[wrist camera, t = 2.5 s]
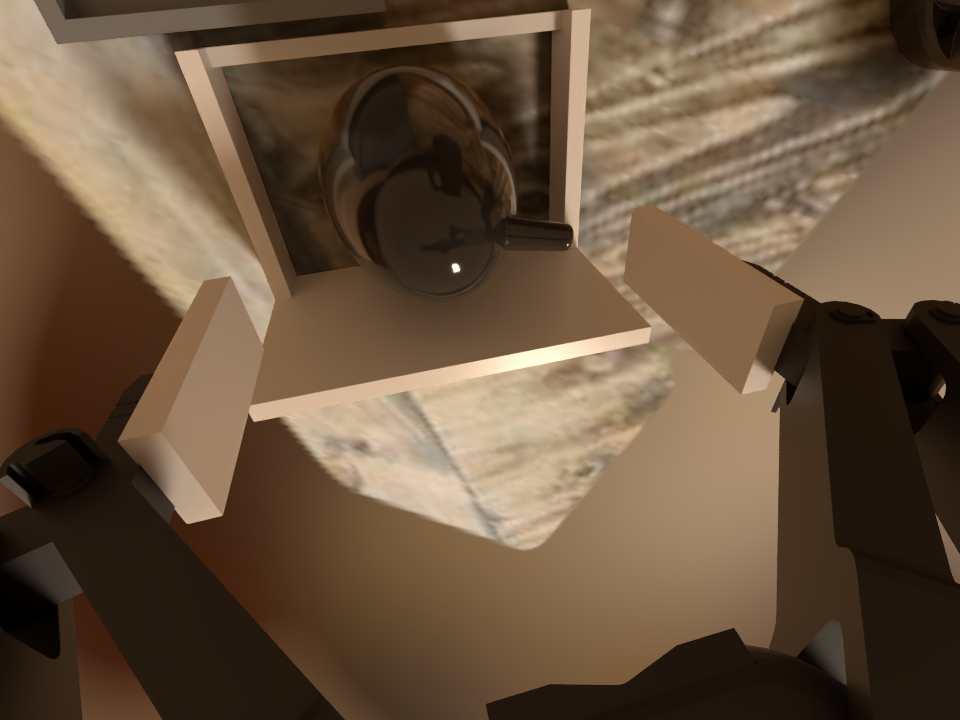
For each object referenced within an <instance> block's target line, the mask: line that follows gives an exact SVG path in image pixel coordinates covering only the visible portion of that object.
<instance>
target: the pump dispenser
mask: <svg viewBox="0 0 960 720" xmlns="http://www.w3.org/2000/svg"><path fill="white" fill-rule="evenodd" d="M318 178H319V185H320V190H321V194H322V198H323V202H324V205H325V209H326V212H327V214H328V217H329V219H330V222H331V224H332V226H333V228H334V230H335V232H336V234H337V236H338V237H339V239H340V241H341V242H342V244H343V245H344V247H345V248H346V249H347V251H348V252H349V253H350V254H351V256H352V257H353V258H354V259H355V260H356V261H357V262H358V263H359V265H360V266H361V267H362V268H363V269H365V270H366V271H367V272H368V273H369V274H370V275H371V276H372V277H374V278H375V279H376V280H377V281H379V282H380V283H381V284H383V285H384V286H386V287H387V288H389V289H391V290H393V291H394V292H396V293H398V294H400V295H403V296H405V297H408V298H411V299H415V300H419V301H425V302H446V301H452V300H456V299H459V298H462V297H464V296H467V295H469V294H471V293H473V292H474V291H476V290H477V289H479V288H480V287H482V286H483V285H484V284H485V283H486V282H487V281H488V280H489V279H490V278H491V277H492V276H493V275H494V274H495V273H496V271H497V270H498V268H499V267H500V265H501V264H502V262H503V260H504V258H505V256H506V254H507V251H567V250H569V249H570V247H571V246H572V243H573V237H574V231H573V228H572V226H571V225H570V224H566V223H560V222H554V221H548V220H541V219H535V218H529V217H523V216H517V215H518V203H519V192H518V179H517V173H516V168H515V163H514V159H513V156H512V153H511V150H510V147H509V144H508V142H507V139H506V137H505V135H504V133H503V131H502V129H501V127H500V125H499V123H498V121H497V119H496V118H495V116H494V114H493V113H492V111H491V110H490V109H489V107H488V106H487V105H486V103H485V102H484V101H483V100H482V99H481V98H480V97H479V96H478V95H477V94H476V93H475V92H474V91H473V90H472V89H471V88H470V87H469V86H467V85H466V84H465V83H463V82H462V81H460V80H459V79H457V78H455V77H454V76H452V75H450V74H448V73H446V72H443V71H441V70H438V69H435V68H432V67H427V66H422V65H411V64H405V65H395V66H389V67H385V68H382V69H379V70H376V71H374V72H372V73H370V74H368V75H366V76H364V77H362V78H361V79H359V80H358V81H356V82H355V83H354V84H353V85H351V86H350V87H349V88H348V89H347V90H346V91H345V92H344V93H343V94H342V95H341V97H340V98H339V99H338V101H337V102H336V103H335V105H334V106H333V108H332V110H331V111H330V113H329V115H328V117H327V120H326V122H325V125H324V127H323V131H322V134H321V138H320V143H319V149H318Z"/></svg>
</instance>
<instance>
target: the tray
mask: <svg viewBox="0 0 960 720" xmlns="http://www.w3.org/2000/svg"><path fill="white" fill-rule="evenodd" d="M34 1H35V3H36V5H37V7H38V9H39V11H40V13H41V14H42V16H43V18H44V20H45V22H46V24H47V26H48V27H49V29H50V31H51V33H52V35H53V37H54V39H55V41H56V42H57V44H63V43H73V42H83V41H93V40H103V39H113V38H123V37H133V36H144V35H154V34H164V33H174V32H184V31H194V30H204V29H214V28H224V27H234V26H244V25H254V24H264V23H274V22H284V21H294V20H304V19H314V18H324V17H334V16H344V15H354V14H365V13H375V12H385V11H386V7H385V1H384V0H34Z"/></svg>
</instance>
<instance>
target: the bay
mask: <svg viewBox="0 0 960 720" xmlns="http://www.w3.org/2000/svg"><path fill="white" fill-rule="evenodd" d="M590 17H591V9H566V10H556V11H546V12H537V13H527V14H518V15H508V16H498V17H489V18H479V19H469V20H460V21H450V22H441V23H431V24H421V25H412V26H402V27H393V28H383V29H373V30H364V31H354V32H344V33H335V34H325V35H316V36H306V37H296V38H287V39H277V40H267V41H258V42H248V43H239V44H229V45H219V46H210V47H200V48H192V49H187V50H182V51H177V52H175V55H176V57H177V60H178V62H179V65H180V67H181V70H182V72H183V75H184V77H185V79H186V82H187V84H188V87H189V89H190V92H191V94H192V97H193V99H194V101H195V104H196V106H197V109H198V111H199V114H200V116H201V119H202V121H203V124H204V126H205V128H206V131H207V133H208V136H209V138H210V141H211V143H212V146H213V148H214V150H215V153H216V155H217V158H218V160H219V163H220V165H221V168H222V170H223V172H224V175H225V177H226V180H227V182H228V185H229V187H230V190H231V192H232V195H233V197H234V199H235V202H236V204H237V207H238V209H239V212H240V214H241V217H242V219H243V221H244V224H245V226H246V229H247V231H248V234H249V236H250V239H251V241H252V244H253V246H254V248H255V251H256V253H257V256H258V258H259V261H260V263H261V266H262V268H263V270H264V273H265V275H266V278H267V280H268V283H269V285H270V288H271V290H272V293H273V295H274V297H275V304H274V308H273V311H272V315H271V318H270V322H269V325H268V329H267V332H266V336H265V340H264V343H263V347H264V352H263V356H262V360H261V364H260V368H259V372H258V376H257V380H256V384H255V388H254V392H253V396H252V400H251V404H250V408H249V413H250V415H251V417H252V419H253V421H254V422H256V421H261V420H266V419H271V418H275V417H280V416H285V415H290V414H295V413H300V412H305V411H310V410H315V409H320V408H325V407H330V406H335V405H340V404H345V403H350V402H355V401H360V400H365V399H370V398H375V397H380V396H385V395H390V394H395V393H400V392H405V391H410V390H415V389H420V388H425V387H430V386H435V385H440V384H445V383H450V382H455V381H460V380H465V379H470V378H475V377H480V376H485V375H490V374H495V373H500V372H505V371H510V370H515V369H520V368H525V367H530V366H535V365H540V364H545V363H550V362H555V361H560V360H564V359H569V358H574V357H579V356H584V355H589V354H594V353H599V352H604V351H609V350H614V349H619V348H624V347H629V346H634V345H639V344H644V343H649V337H650V332H651V326H650V325H649V324H648V323H647V322H646V321H645V319H644V318H643V317H642V316H641V315H640V314H639V313H638V312H637V311H636V310H635V309H634V308H633V307H632V306H631V305H630V304H629V303H628V302H627V300H626V299H625V298H624V297H623V296H622V295H621V294H620V293H619V292H618V291H617V290H616V289H615V288H614V287H613V286H612V285H611V284H610V283H609V281H608V280H607V279H606V278H605V277H604V276H603V275H602V274H601V273H600V272H599V271H598V270H597V269H596V268H595V267H594V266H593V265H592V264H591V262H590V261H589V260H588V259H587V258H586V257H585V256H584V255H583V254H582V253H581V252H580V251H579V250H578V249H577V246H578V229H579V211H580V193H581V176H582V158H583V140H584V123H585V105H586V87H587V70H588V52H589V34H590ZM551 30H552V59H551V125H550V191H549V221H554V222H560V223H566V224H570V225H571V226H572V228H573V231H574V237H573V243H572V246H571V247H570V249H569V250H567V251H507V254H506V256H505V258H504V260H503V262H502V264H501V265H500V267H499V268H498V270H497V271H496V273H495V274H494V275H493V276H492V277H491V278H490V279H489V280H488V281H487V282H486V283H485V284H484V285H483V286H482V287H480V288H479V289H477V290H476V291H474V292H473V293H471V294H469V295H467V296H464V297H462V298H459V299H456V300H452V301H446V302H425V301H419V300H415V299H411V298H408V297H405V296H403V295H400V294H398V293H396V292H394V291H393V290H391V289H389V288H387V287H386V286H384V285H383V284H381V283H380V282H379V281H377V280H376V279H375V278H374V277H372V276H371V275H370V274H369V273H368V272H367V271H366V270H365V269H363V268H362V267H361V266H355V267H349V268H343V269H337V270H331V271H325V272H318V273H312V274H306V275H300V276H296V273H295V270H294V267H293V265H292V262H291V259H290V256H289V254H288V251H287V248H286V245H285V242H284V240H283V237H282V234H281V231H280V229H279V226H278V223H277V220H276V218H275V215H274V212H273V209H272V207H271V204H270V201H269V198H268V195H267V193H266V190H265V187H264V184H263V182H262V179H261V176H260V173H259V171H258V168H257V165H256V162H255V160H254V157H253V154H252V151H251V149H250V146H249V143H248V140H247V137H246V135H245V132H244V129H243V126H242V124H241V121H240V118H239V115H238V113H237V110H236V107H235V104H234V102H233V99H232V96H231V93H230V91H229V88H228V85H227V82H226V79H225V77H224V74H223V71H222V68H221V67H222V66H231V65H240V64H250V63H259V62H268V61H277V60H286V59H295V58H304V57H314V56H323V55H332V54H341V53H350V52H359V51H369V50H378V49H387V48H396V47H405V46H414V45H423V44H433V43H442V42H451V41H460V40H469V39H478V38H487V37H497V36H506V35H515V34H524V33H533V32H542V31H551Z"/></svg>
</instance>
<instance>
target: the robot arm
mask: <svg viewBox="0 0 960 720" xmlns="http://www.w3.org/2000/svg"><path fill="white" fill-rule="evenodd" d="M891 20H892V27H893V32H894V36H895V39H896V42H897V44H898V46H899V48H900V50H901V51H902V53H903V54H904V55H905V56H906V57H907V58H908V59H909V60H910V61H911V62H913V63H914V64H916V65H918V66H920V67H923V68H927V69H934V70H945V71H956V72H960V0H891ZM624 282H625V283H626V284H627V285H628V286H629V287H630V288H631V289H632V290H633V291H634V292H635V293H637V294H638V295H639V296H640V297H641V298H642V299H643V300H644V301H645V302H646V303H647V304H648V305H649V306H650V307H651V308H652V309H653V310H654V311H655V312H656V313H657V314H658V315H659V316H660V317H661V318H662V319H663V320H664V321H665V322H666V323H668V324H669V325H670V326H671V327H672V328H673V329H674V330H675V331H676V332H677V333H678V334H679V335H680V336H681V337H682V338H683V339H684V340H685V341H686V342H687V343H688V344H689V345H690V346H691V347H692V348H693V349H694V350H695V351H696V352H698V353H699V354H700V355H701V356H702V357H703V358H704V359H705V360H706V361H707V362H708V363H709V364H710V365H711V366H712V367H713V368H714V369H715V370H716V371H717V372H718V373H719V374H720V375H721V376H722V377H724V379H725V380H726V381H727V382H729V383H730V384H731V385H732V386H733V387H734V388H735V389H736V390H737V391H738V392H739V393H740V394H741V395H742V394H746V393H751V392H755V391H759V390H764V389H767V387H768V385H769V382H770V380H771V378H772V375H773V373H774V371H776V372H777V373H779V374H780V375H781V376H782V377H783V378H785V381H784V383H783V385H782V388H781V390H780V392H779V395H778V397H777V399H776V401H775V404H774V406H773V408H772V411H771V412H776V411H777V409H778V408H779V407H780V438H779V496H778V497H779V498H778V500H779V501H778V553H777V612H776V613H777V614H776V625H775V630H774V634H773V637H772V640H771V643H770V647H769V649H767V648H762V647H756V646H749V645H744V643H743V642H742V640H741V638H740V637H739V635H738V633H737V632H736V631H735V629H734V628H732V629H729V630H726V631H722V632H720V633H716V634H713V635H709V636H706V637H703V638H700V639H696V640H693V641H690V642H686V643H683V644H680V645H677V646H675V647H674V648H673V649H671V650H670V651H669V652H667V653H666V654H665V655H663V656H662V657H661V658H659V659H658V660H657V661H655V662H654V663H653V664H651V665H650V666H648V667H647V668H646V669H644V670H643V671H642V672H640V673H639V674H638V675H636V676H635V677H634V678H632V679H631V680H630V681H628V682H627V683H625V684H621V685H563V684H562V685H561V684H550V685H547V686H543V687H540V688H537V689H534V690H530V691H527V692H524V693H520V694H517V695H514V696H510V697H507V698H504V699H501V700H497V701H494V702H491V703H488V704H486V707H487V712H488V717H489V720H960V584H958V583H956V582H955V581H954V578H953V576H952V574H951V570H950V566H949V563H948V559H947V555H946V552H945V548H944V544H943V541H942V537H941V533H940V530H939V526H938V522H937V519H936V515H937V517H938V518H939V520H940V522H941V523H942V525H943V527H944V528H945V530H946V532H947V533H948V535H949V537H950V538H951V540H952V542H953V543H954V545H955V547H956V548H957V550H958V552H959V553H960V304H958V303H955V304H954V303H953V302H950V301H937V300H926V301H920V302H917V303H915V304H914V306H913V307H912V309H911V310H910V312H909V314H908V315H907V317H906V319H881V318H880V316H879V315H878V314H877V313H875V312H874V311H872V310H871V309H868V308H866V307H863V306H861V305H858V304H853V303H848V302H841V301H840V302H839V301H831V302H824V303H822V304H821V303H820V302H818V301H816V300H815V299H813V298H811V297H810V296H808V295H807V294H805V293H803V292H801V291H800V290H798V289H797V288H795V287H793V286H792V285H790V284H789V283H785V282H784V280H782V279H780V278H779V277H777V276H773V274H772V273H771V272H769V271H767V270H766V269H764V268H762V267H761V266H759V265H756V264H753V263H750V262H747V261H744V260H740V259H739V258H737V257H736V256H734V255H732V254H731V253H729V252H728V251H726V250H724V249H723V248H721V247H720V246H718V245H716V244H715V243H713V242H712V241H710V240H708V239H707V238H705V237H704V236H702V235H700V234H699V233H697V232H696V231H694V230H692V229H691V228H689V227H688V226H686V225H684V224H683V223H681V222H680V221H678V220H676V219H675V218H673V217H672V216H670V215H668V214H667V213H665V212H664V211H662V210H660V209H659V208H657V207H656V206H654V205H652V206H646V207H640V208H634V209H633V212H632V219H631V227H630V235H629V242H628V250H627V258H626V265H625V273H624ZM263 352H264V347H263V345H262V343H261V341H260V339H259V337H258V334H257V332H256V330H255V328H254V326H253V324H252V322H251V319H250V317H249V315H248V313H247V311H246V309H245V306H244V304H243V302H242V300H241V298H240V296H239V293H238V291H237V289H236V287H235V285H234V283H233V280H232V278H231V276H230V277H224V278H218V279H212V280H206V281H204V282H203V284H202V286H201V287H200V289H199V291H198V293H197V295H196V297H195V299H194V300H193V302H192V304H191V306H190V308H189V310H188V312H187V313H186V315H185V317H184V319H183V321H182V323H181V325H180V326H179V329H178V330H177V332H176V334H175V336H174V337H173V339H172V341H171V343H170V345H169V347H168V349H167V350H166V352H165V354H164V356H163V358H162V360H161V362H160V364H159V365H158V367H157V369H156V371H155V373H150V374H145V375H141V376H140V377H139V378H138V379H136V380H135V381H134V382H133V383H132V384H131V385H130V386H129V387H128V388H126V389H125V390H124V392H123V394H122V395H121V397H120V399H119V400H118V402H117V404H116V408H114V409H113V410H112V412H111V414H110V416H109V417H108V418H109V420H108V421H106V422H105V424H104V426H103V427H102V429H101V431H100V432H99V434H98V436H97V438H96V439H95V441H93V440H92V439H91V437H90V436H89V435H88V434H87V433H86V432H85V431H84V430H81V429H79V428H62V429H58V430H54V431H51V432H48V433H46V434H44V435H41V436H39V437H37V438H34V439H32V440H31V441H29V442H28V443H26V444H24V445H23V446H21V447H20V448H18V449H17V450H16V451H15V452H14V453H12V455H10V456H9V457H8V458H7V459H6V460H5V461H4V463H3V464H2V466H1V468H0V482H2V483H3V484H4V485H5V486H6V487H7V488H9V489H10V490H11V491H12V492H13V493H15V494H16V495H17V496H18V497H19V498H20V499H22V500H23V501H24V502H25V503H26V504H27V506H25V507H23V508H20V509H18V510H16V511H13V512H11V513H8V514H6V515H4V516H1V517H0V720H82V709H81V698H80V686H79V673H78V662H77V650H76V639H75V627H74V616H73V604H72V597H73V596H76V595H78V594H80V593H82V592H84V593H85V595H86V597H87V598H88V600H89V602H90V603H91V605H92V606H93V608H94V610H95V611H96V613H97V615H98V616H99V618H100V619H101V621H102V623H103V624H104V626H105V627H106V629H107V631H108V632H109V634H110V636H111V637H112V639H113V640H114V642H115V643H116V645H117V647H118V648H119V650H120V651H121V653H122V655H123V656H124V658H125V660H126V661H127V663H128V664H129V666H130V668H131V669H132V671H133V673H134V674H135V676H136V677H137V679H138V681H139V682H140V684H141V685H142V687H143V689H144V690H145V692H146V693H147V695H148V697H149V699H150V700H151V702H152V703H153V705H154V706H155V708H156V710H157V711H158V713H159V715H160V716H161V718H162V719H163V720H344V718H343V717H342V716H341V715H340V714H339V713H338V712H337V711H336V709H334V707H333V706H332V705H331V704H330V703H329V702H328V701H327V700H326V699H325V698H324V696H322V694H321V693H320V692H319V691H318V690H317V689H316V688H315V687H314V685H313V684H312V683H311V682H310V681H309V680H308V679H307V678H306V677H305V675H304V674H303V673H302V672H301V671H300V670H299V669H298V668H297V667H296V665H295V664H294V663H293V662H292V661H291V660H290V659H289V658H288V657H287V655H286V654H285V653H284V652H283V651H282V650H281V649H280V648H279V647H278V645H277V644H276V643H275V642H274V641H273V640H272V639H271V638H270V637H269V635H267V633H266V632H265V631H264V630H263V629H262V628H261V627H260V625H259V624H258V623H257V622H256V621H255V620H254V619H253V618H252V617H251V615H250V614H248V612H247V611H246V610H245V609H244V608H243V607H242V606H241V604H240V603H239V602H238V601H237V600H236V599H235V598H234V597H233V595H232V594H231V593H230V592H229V591H228V590H227V589H226V588H225V587H224V585H223V584H222V583H221V582H220V581H219V580H218V579H217V578H216V577H215V575H214V574H213V573H212V572H211V571H210V570H209V569H208V568H207V567H206V566H205V564H204V563H203V562H202V561H201V560H200V559H199V558H198V557H197V556H196V554H195V553H194V552H193V551H192V550H191V549H190V548H189V547H188V545H187V544H186V543H185V542H184V541H183V540H182V539H181V538H180V537H179V535H178V534H177V533H176V532H175V531H174V530H173V529H172V528H171V527H170V526H169V523H170V520H171V517H172V514H173V511H174V509H175V510H176V511H177V512H178V514H179V515H180V516H181V517H182V518H183V520H184V521H185V522H186V523H187V524H189V523H193V522H197V521H202V520H206V519H211V518H215V517H219V516H223V513H224V508H225V504H226V500H227V496H228V492H229V488H230V484H231V480H232V476H233V472H234V468H235V464H236V460H237V456H238V452H239V448H240V444H241V440H242V436H243V432H244V428H245V424H246V420H247V416H248V412H249V408H250V404H251V400H252V396H253V392H254V388H255V384H256V380H257V376H258V372H259V368H260V364H261V360H262V356H263ZM944 384H946V392H945V396H944V398H943V399H942V398H941V396H940V395H939V393H938V392H939V391H940V389H941V388H942V386H943V385H944ZM935 513H936V515H935Z"/></svg>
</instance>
